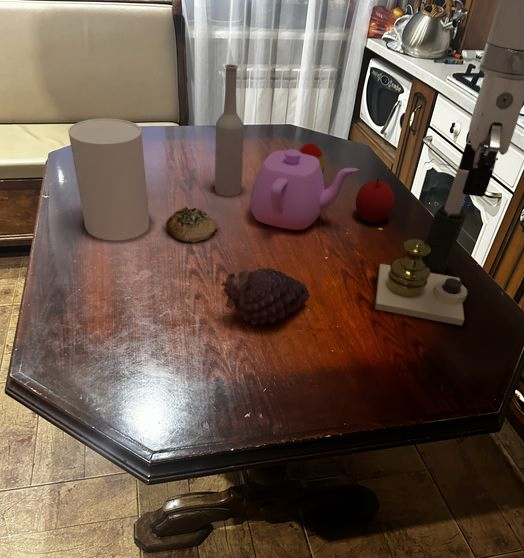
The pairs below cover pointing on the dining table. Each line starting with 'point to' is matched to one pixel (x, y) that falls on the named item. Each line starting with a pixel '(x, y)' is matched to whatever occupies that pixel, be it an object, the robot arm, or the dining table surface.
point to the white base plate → (422, 299)
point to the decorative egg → (313, 153)
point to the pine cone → (264, 294)
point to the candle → (446, 227)
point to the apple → (375, 201)
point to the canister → (110, 177)
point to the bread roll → (191, 225)
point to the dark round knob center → (452, 286)
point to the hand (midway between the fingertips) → (470, 181)
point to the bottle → (229, 141)
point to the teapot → (292, 190)
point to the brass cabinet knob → (410, 270)
